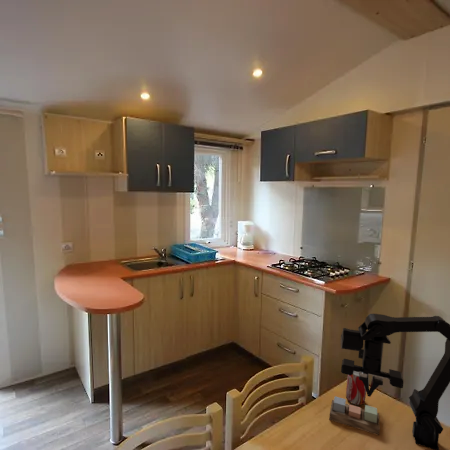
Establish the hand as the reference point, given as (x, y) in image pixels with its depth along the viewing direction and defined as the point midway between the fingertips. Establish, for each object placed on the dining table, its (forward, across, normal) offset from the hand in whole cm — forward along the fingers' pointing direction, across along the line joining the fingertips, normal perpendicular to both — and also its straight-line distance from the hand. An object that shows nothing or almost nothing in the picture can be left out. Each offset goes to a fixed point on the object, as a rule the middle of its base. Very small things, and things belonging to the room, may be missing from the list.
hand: (368, 395), depth 108 cm
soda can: (+12, +4, -14) cm, 19 cm away
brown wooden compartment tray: (+12, +4, -2) cm, 13 cm away
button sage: (+9, -1, -2) cm, 10 cm away
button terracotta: (+11, +4, -2) cm, 12 cm away
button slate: (+9, +9, -2) cm, 13 cm away
